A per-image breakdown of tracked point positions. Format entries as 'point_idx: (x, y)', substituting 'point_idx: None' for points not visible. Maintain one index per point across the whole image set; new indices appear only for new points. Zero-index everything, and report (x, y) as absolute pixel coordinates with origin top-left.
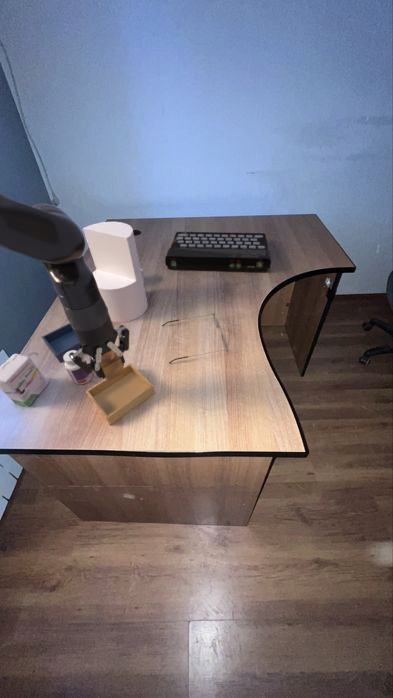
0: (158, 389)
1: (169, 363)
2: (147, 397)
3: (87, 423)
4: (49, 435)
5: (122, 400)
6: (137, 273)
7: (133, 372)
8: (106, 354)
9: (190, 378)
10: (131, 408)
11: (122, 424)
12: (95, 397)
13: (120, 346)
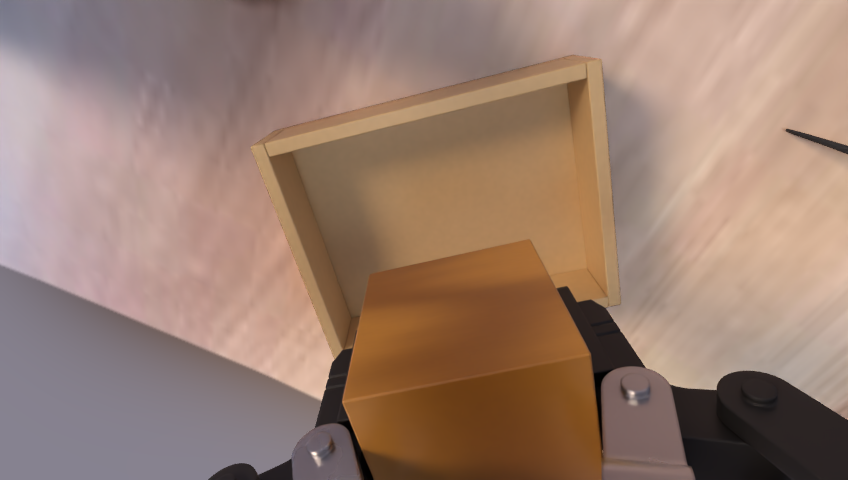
0: (620, 260)
1: (786, 130)
2: None
3: (249, 267)
4: (71, 242)
5: (435, 243)
6: None
7: (569, 95)
8: (504, 424)
9: (789, 278)
10: None
11: None
12: (307, 154)
13: (722, 463)
